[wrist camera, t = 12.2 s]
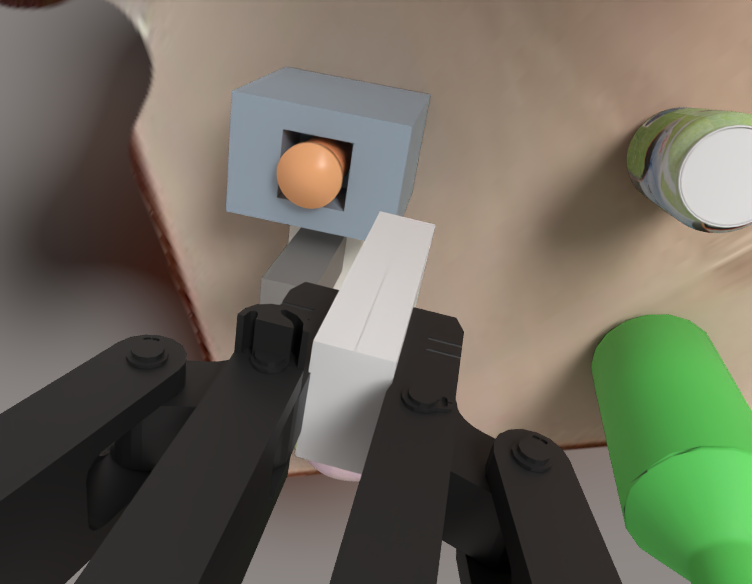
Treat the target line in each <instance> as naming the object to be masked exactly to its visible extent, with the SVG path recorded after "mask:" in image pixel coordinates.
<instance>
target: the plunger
mask: <svg viewBox="0 0 752 584" xmlns="http://www.w3.org/2000/svg"><path fill="white" fill-rule="evenodd" d="M352 151H353V148H352V145H351V143H350V142H345V141H340V140H335V139H330V138H325V137H320V136H315V135H313V136H312V137H311V138H310V139H308V140H307V141H306V142H301V143H298V144H296V145H294V146H292V147H291V148H290V149H288V150H287V151H286V152H285V153H284V154H283V155H282V157H281V158H280V160H279V163H278V166H277V181H278V184H279V187H280V189H281V191H282V192H283V194H284V195H285V196H286V198H287V199H289V200H290V201H291V202H292V203H294V204H296V205H297V206H300V207H303V208H308V209H315V208H320V207H323V206H325V205H327V204H329V203H330V202H331V201H332V200H333V199H334V198H335V197H336V195H337V194H338V193H339V191H340V189H341V186H342V183H343V177H344V176H345V175H346V173H347V172H348V171H349V169H350V165H351V158H352Z"/></svg>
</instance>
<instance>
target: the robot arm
mask: <svg viewBox="0 0 752 584" xmlns="http://www.w3.org/2000/svg"><path fill="white" fill-rule="evenodd" d="M435 226H436V225H435V224H431V223H427V222H423V221H419V220H415V219H410V218H406V217H402V216H398V215H394V214H390V213H385V212H381V211H380V212H379V214H378V216H377V218H376V220H375V222H374V224H373V226H372V228H371V230H370V232H369V234H368V236H367V238H366V239H365V241H364V243H363V245H362V247H361V249H360V251H359V253H358V255H357V257H356V259H355V261H354V263H353V265H352V267H351V269H350V271H349V272H348V274H347V276H346V278H345V280H344V282H343V284H342V286H341V288H340V290H337V289H333V288H329V287H325V286H321V285H317V284H313V283H309V282H304V283H302V284H300V285H298V286H296V287H294V288H292V289H290V290H289V292H288V293H287V295H286V296H285V298H284V299H283V301H282V304H280V305H277V304H257V305H254V306H251V307H247V308H245V309H244V310H242V311H241V312H240V313H239V314H238V317H237V328H236V339H235V350H234V353H233V355H232V356H231V358H230V359H229V360H226V361H219V362H203V361H202V362H201V361H187V360H186V359H187V353H186V352H185V350H184V348H183V346H182V345H181V344H179V343H178V342H176V341H174V340H173V339H170V338H166V337H163V336H158V335H141V336H134V337H130V338H127V339H125V340H122V341H120V342H118V343H116V344H114V345H113V346H111V347H110V348H108V349H106V350H105V351H103V352H101V353H100V354H98V355H96V356H95V357H94V358H91V359H90V360H89V361H87V362H85V363H83V364H82V365H80V366H78V367H77V368H75V369H73V370H72V371H70V372H69V373H67V374H65V375H64V376H62V377H60V378H59V379H57V380H55V381H54V382H52V383H51V384H49V385H47V386H46V387H44V388H42V389H41V390H39V391H37V392H36V393H34V394H32V395H31V396H29V397H28V398H26V399H24V400H23V401H21V402H19V403H18V404H16V405H14V406H13V407H11V408H9V409H8V410H6V411H4V412H3V413H1V414H0V584H65V583H66V582H67V581H68V580H69V579H70V578H71V577H72V576H74V575H75V574H76V573H77V572H78V571H79V570H80V569H81V568H82V567H83V566H84V565H85V564H86V563H87V562H88V561H89V560H90V561H89V563H88V564H87V566H86V568H85V569H84V570H83V572H82V573H81V575H80V576H79V577H78V579H77V580H76V582H75V583H74V584H241V583H242V581H243V579H244V576H245V574H246V571H247V569H248V567H249V565H250V562H251V560H252V558H253V555H254V553H255V550H256V548H257V546H258V543H259V541H260V539H261V536H262V534H263V532H264V529H265V527H266V525H267V522H268V520H269V518H270V515H271V513H272V511H273V508H274V506H275V504H276V501H277V499H278V497H279V494H280V492H281V490H282V487H283V485H284V483H285V480H286V478H287V475H288V469H289V462H290V456H291V454H292V451H293V449H294V447H295V445H296V442H297V446H296V453H295V456H296V457H300V458H303V459H307V460H311V461H314V462H318V463H322V464H325V465H329V466H332V467H336V468H340V469H343V470H347V471H351V472H354V473H358V474H362V475H361V478H360V482H359V485H358V489H357V492H356V496H355V499H354V502H353V506H352V509H351V513H350V516H349V519H348V523H347V526H346V529H345V533H344V536H343V540H342V543H341V546H340V550H339V553H338V556H337V560H336V563H335V567H334V570H333V573H332V577H331V580H330V584H436V583H437V575H438V567H439V560H440V551H441V543H442V540H443V541H445V542H446V543H448V544H450V545H451V546H453V547H455V548H456V560H457V565H458V571H459V577H460V582H461V584H622V582H621V580H620V578H619V575H618V573H617V570H616V568H615V566H614V564H613V561H612V559H611V556H610V554H609V552H608V549H607V547H606V545H605V542H604V540H603V537H602V535H601V533H600V530H599V528H598V526H597V524H596V521H595V519H594V517H593V514H592V512H591V509H590V507H589V505H588V502H587V500H586V498H585V495H584V493H583V491H582V488H581V486H580V484H579V481H578V479H577V477H576V474H575V472H574V469H573V467H572V465H571V462H570V460H569V459H568V457H567V456H566V454H565V453H564V451H563V450H562V449H561V448H560V447H559V446H558V445H557V444H555V443H554V442H553V441H552V440H551V439H549V438H547V437H545V436H543V435H541V434H538V433H536V432H532V431H528V430H523V429H514V430H507V431H505V432H503V433H500V434H499V435H498V436H497V438H496V439H495V438H493V437H491V436H489V435H487V434H485V433H483V432H481V431H480V430H478V429H476V428H475V427H473V426H472V425H471V424H470V423H468V422H467V421H466V420H465V419H464V418H463V416H462V415H461V414H460V413H459V411H458V408H457V402H456V390H457V382H458V374H459V367H460V357H461V351H462V343H463V335H464V331H463V329H462V327H461V326H460V324H459V322H458V320H457V318H454V317H451V316H447V315H443V314H439V313H435V312H431V311H427V310H423V309H419V308H416V303H417V299H418V295H419V291H420V287H421V283H422V279H423V275H424V271H425V267H426V262H427V258H428V254H429V250H430V246H431V242H432V238H433V234H434V230H435Z"/></svg>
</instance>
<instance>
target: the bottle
mask: <svg viewBox="0 0 752 584" xmlns="http://www.w3.org/2000/svg"><path fill="white" fill-rule="evenodd" d="M591 369H592V375H593V381H594V386H595V390H596V395H597V400H598V404H599V409H600V413H601V418H602V423H603V427H604V432H605V436H606V441H607V446H608V450H609V455H610V459H611V464H612V468H613V472H614V477H615V481H616V486H617V490H618V495H619V499H620V504H621V508H622V513H623V517H624V522H625V526H626V529H627V530H628V532H629V533H630V535H631V536H632V537H633V539H634V540H635V542H636V543H637V545H638V546H639V547H640V548H641V549H642V550H644V551H645V552H647V553H648V554H650V555H651V556H653V557H654V558H656V559H657V560H659V561H660V562H662V563H663V564H665V565H666V566H668V567H669V568H671V569H672V570H674V571H675V572H677V573H678V574H680V575H681V576H683V577H684V578H686V579H687V580H689V581H690V582H691V584H752V411H751V409H750V408H749V406H748V404H747V402H746V401H745V399H744V397H743V395H742V394H741V392H740V390H739V388H738V387H737V385H736V383H735V382H734V380H733V378H732V376H731V375H730V373H729V371H728V369H727V368H726V366H725V364H724V362H723V361H722V359H721V357H720V355H719V354H718V352H717V350H716V348H715V347H714V345H713V343H712V342H711V340H710V338H709V337H708V335H707V333H706V332H705V331H703V330H702V329H700V328H699V327H698V326H696V325H695V324H694V323H692V322H691V321H689V320H686V319H682V318H679V317H676V316H672V315H644V316H641V317H637V318H634V319H631V320H628V321H625V322H623V323H622V324H620V325H619V326H617V327H616V328H614V329H613V330H611V331H610V332H608V333H607V334H606V336H605V337H604V338H603V340H602V341H601V342H600V344H599V345H598V346H597V348H596V349H595V353H594V357H593V360H592V364H591Z"/></svg>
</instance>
